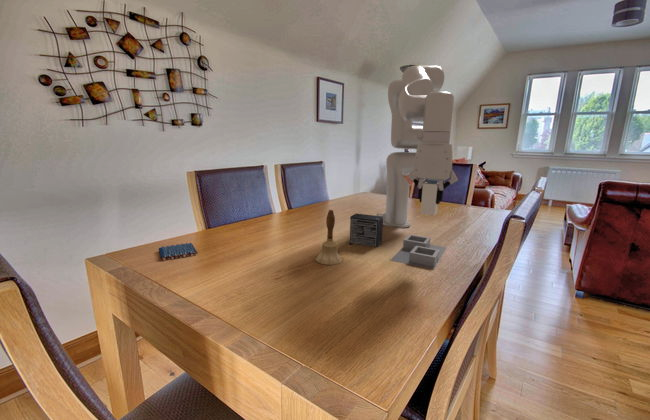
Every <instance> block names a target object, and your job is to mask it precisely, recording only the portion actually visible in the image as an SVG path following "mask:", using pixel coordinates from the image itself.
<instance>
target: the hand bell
mask: <svg viewBox="0 0 650 420" xmlns="http://www.w3.org/2000/svg"><path fill="white" fill-rule="evenodd" d="M335 221H336V217H335V214H334V210H333V209H329V210H328V212H327V215H326V229H327V233H326V234H327V235H326V236H327V237H326V241H323V243H322V246H321V250H320V253H319V254H318V255H317V256H316V257H315V261H316V262H317V263H319V264H322V265H325V266H335V265H339V264H341V263H342V262H343V257H341V255H340V254H339V251H338V245H337V244H338V243H337V242H335V241H334V240H333V238H334V235H333V234H334V233H333V232H334V228H335V224H336V222H335Z"/></svg>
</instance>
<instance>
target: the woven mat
mask: <svg viewBox="0 0 650 420" xmlns="http://www.w3.org/2000/svg"><path fill="white" fill-rule="evenodd" d="M158 252H159V256H160V260H161V261H163V262H164V261H166V260H167V261H170V260H174V259H178V258H179V259H182V258H186V257H187V258H189V257H193V256H197V254H198V251H197V249H196V248H195V247H194V244H193V243H192V242H189V243H188V242H186V243H180V244H179V243H178V244H175V245H174V244H171V245H166V246H165V245H163V246H161V247H158Z"/></svg>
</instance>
